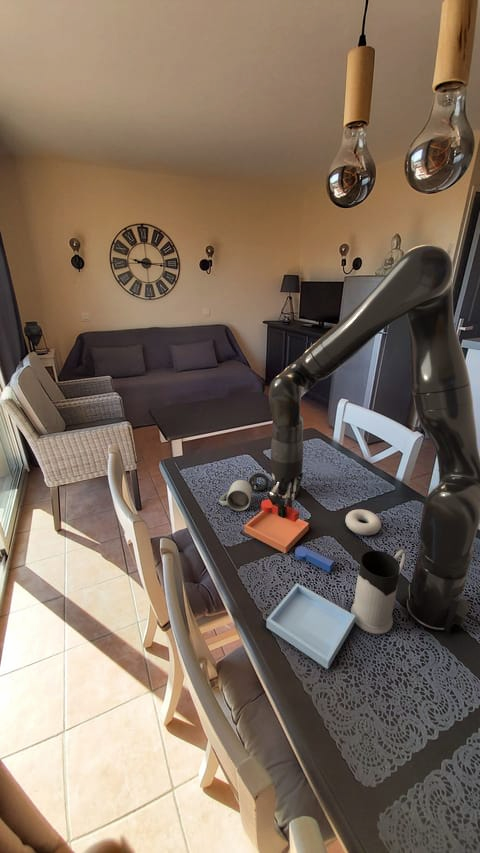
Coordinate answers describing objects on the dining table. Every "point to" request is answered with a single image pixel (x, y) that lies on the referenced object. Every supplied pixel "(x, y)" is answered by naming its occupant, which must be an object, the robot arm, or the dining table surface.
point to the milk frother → (255, 484)
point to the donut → (363, 528)
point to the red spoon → (268, 507)
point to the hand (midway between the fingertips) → (284, 513)
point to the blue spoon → (314, 558)
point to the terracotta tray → (276, 530)
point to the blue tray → (311, 624)
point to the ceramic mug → (238, 496)
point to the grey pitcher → (376, 590)
